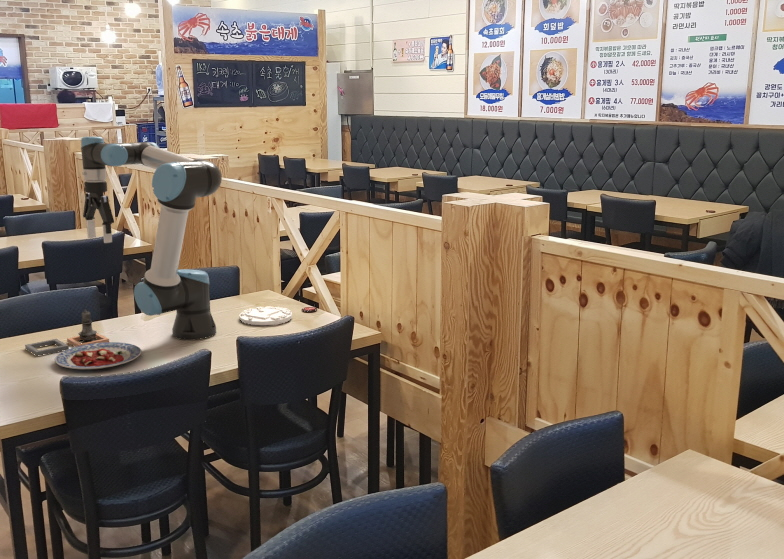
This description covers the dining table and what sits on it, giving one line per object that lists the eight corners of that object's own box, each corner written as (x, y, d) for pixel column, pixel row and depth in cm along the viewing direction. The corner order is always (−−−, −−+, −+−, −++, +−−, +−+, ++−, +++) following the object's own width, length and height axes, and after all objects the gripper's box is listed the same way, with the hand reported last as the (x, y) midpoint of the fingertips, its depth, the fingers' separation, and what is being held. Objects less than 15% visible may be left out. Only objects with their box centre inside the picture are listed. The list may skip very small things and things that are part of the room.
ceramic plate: (55, 379, 226) (54, 370, 226) (55, 353, 249) (54, 345, 249) (146, 368, 237) (145, 359, 236) (137, 344, 260) (136, 336, 259)
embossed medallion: (230, 319, 293) (229, 311, 292) (273, 310, 305) (273, 303, 305) (257, 330, 278) (257, 322, 277) (302, 320, 291) (302, 313, 290)
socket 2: (109, 343, 260) (109, 338, 260) (79, 349, 253) (79, 345, 253) (96, 336, 267) (96, 332, 267) (67, 342, 260) (66, 338, 260)
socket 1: (68, 349, 253) (68, 345, 252) (37, 356, 246) (36, 352, 245) (56, 342, 260) (56, 338, 259) (25, 349, 253) (25, 344, 253)
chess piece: (91, 346, 257) (88, 311, 254) (75, 344, 258) (72, 310, 255) (101, 340, 263) (98, 307, 260) (85, 339, 264) (82, 306, 261)
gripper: (70, 178, 276) (75, 236, 281) (100, 184, 259) (104, 246, 263) (90, 177, 281) (95, 234, 286) (121, 183, 264) (125, 243, 268)
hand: (99, 240), depth 275 cm, fingers open, 13 cm apart
